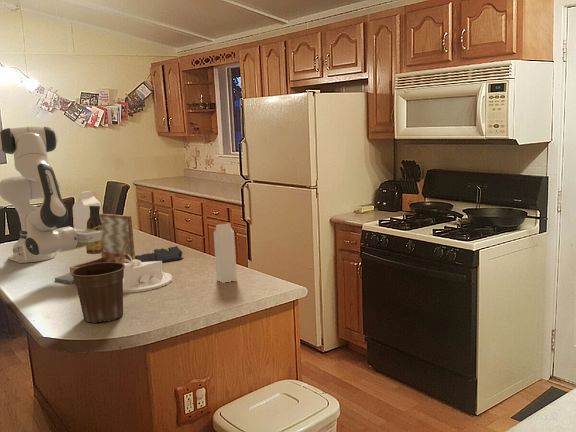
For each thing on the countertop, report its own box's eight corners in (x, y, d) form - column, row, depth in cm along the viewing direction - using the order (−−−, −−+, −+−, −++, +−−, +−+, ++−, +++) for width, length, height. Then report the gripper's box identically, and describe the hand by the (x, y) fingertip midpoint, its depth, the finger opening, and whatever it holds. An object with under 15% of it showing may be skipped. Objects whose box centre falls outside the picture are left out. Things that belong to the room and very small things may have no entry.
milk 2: (237, 281, 214) (234, 224, 210) (222, 283, 211) (219, 226, 207) (230, 277, 219) (227, 221, 215) (216, 280, 216) (212, 223, 212)
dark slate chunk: (128, 261, 254) (127, 250, 253) (176, 253, 264) (175, 243, 263) (137, 268, 240) (136, 257, 239) (186, 260, 251) (185, 249, 250)
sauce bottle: (97, 254, 230) (97, 206, 229) (83, 254, 231) (83, 206, 230) (105, 252, 237) (105, 205, 235) (91, 251, 238) (91, 205, 236)
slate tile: (54, 280, 224) (54, 278, 224) (75, 274, 233) (75, 271, 233) (71, 284, 219) (70, 281, 219) (92, 277, 228) (91, 274, 227)
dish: (113, 297, 201) (110, 267, 199) (101, 281, 223) (98, 253, 221) (180, 285, 212) (178, 256, 210) (162, 270, 234) (160, 244, 232)
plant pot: (65, 323, 176) (59, 273, 173) (99, 306, 191) (94, 260, 188) (107, 328, 170) (102, 277, 167) (139, 310, 185) (135, 263, 182)
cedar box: (70, 272, 236) (64, 220, 232) (104, 262, 251) (99, 213, 247) (102, 278, 226) (96, 223, 222) (136, 267, 241) (131, 216, 237)
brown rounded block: (113, 269, 238) (112, 258, 238) (121, 266, 242) (120, 255, 241) (121, 270, 236) (119, 259, 235) (129, 268, 240) (127, 256, 239)
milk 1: (88, 242, 294) (83, 193, 289) (74, 241, 300) (69, 192, 295) (107, 238, 304) (102, 190, 299) (93, 236, 310) (88, 189, 305)
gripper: (83, 232, 216) (112, 225, 228) (50, 228, 227) (78, 222, 238) (85, 248, 217) (113, 240, 229) (51, 243, 228) (80, 237, 240)
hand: (95, 231), depth 234 cm, fingers closed on sauce bottle, 6 cm apart
